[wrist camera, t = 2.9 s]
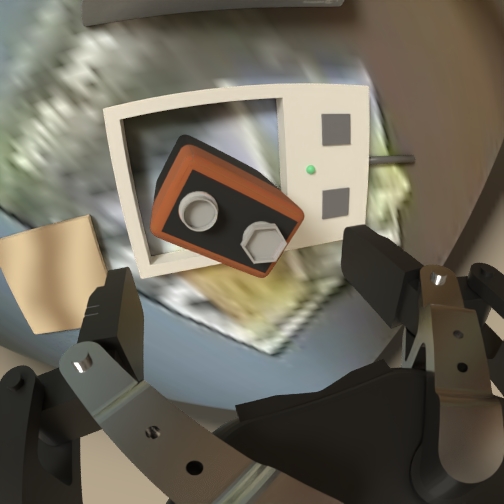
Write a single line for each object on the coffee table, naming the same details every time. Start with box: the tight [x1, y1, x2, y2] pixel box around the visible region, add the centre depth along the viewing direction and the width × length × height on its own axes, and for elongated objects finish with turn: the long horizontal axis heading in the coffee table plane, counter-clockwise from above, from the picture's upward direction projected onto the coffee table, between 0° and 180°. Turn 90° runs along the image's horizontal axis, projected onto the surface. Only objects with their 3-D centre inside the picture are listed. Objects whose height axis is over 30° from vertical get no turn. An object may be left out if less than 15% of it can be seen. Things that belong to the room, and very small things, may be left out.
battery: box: [150, 135, 304, 278], centre depth 18 cm, size 4×7×10 cm, turn 59°
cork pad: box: [0, 215, 108, 334], centre depth 22 cm, size 10×10×1 cm
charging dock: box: [103, 84, 415, 279], centre depth 23 cm, size 26×13×2 cm, turn 94°
